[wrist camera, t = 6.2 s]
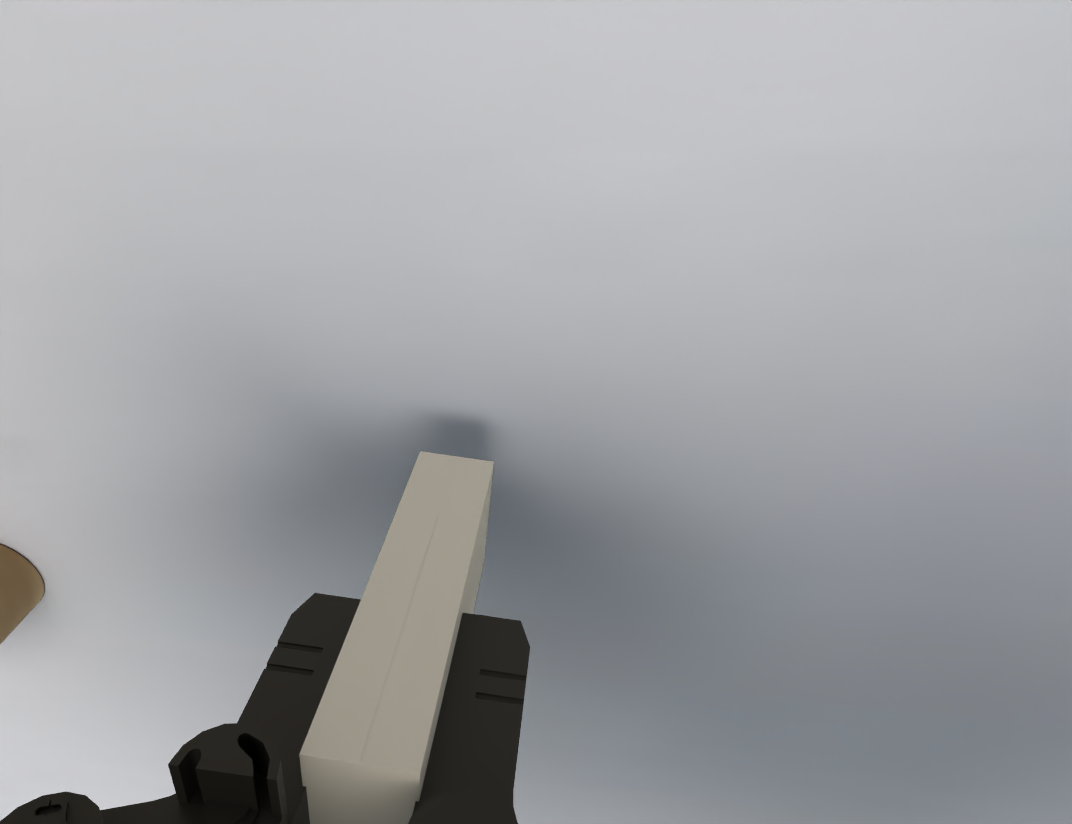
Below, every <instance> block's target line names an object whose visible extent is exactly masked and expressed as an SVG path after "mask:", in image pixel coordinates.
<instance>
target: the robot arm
mask: <svg viewBox="0 0 1072 824" xmlns="http://www.w3.org/2000/svg"><path fill="white" fill-rule="evenodd" d="M493 466H494V462H493V461H486V460H479V459H472V458H465V457H457V456H450V455H443V454H436V453H429V452H422V451H420V453H419V455H418V458H417V460H416V463H415V465H414V468H413V470H412V473H411V475H410V478H409V480H408V483H407V485H406V488H405V490H404V493H403V495H402V498H401V501H400V503H399V506H398V508H397V511H396V513H395V516H394V518H393V521H392V523H391V526H390V528H389V531H388V533H387V536H386V538H385V541H384V543H383V546H382V548H381V551H380V553H379V556H378V558H377V561H376V563H375V566H374V568H373V571H372V573H371V576H370V578H369V581H368V583H367V586H366V588H365V591H364V593H363V596H362V598H361V600H360V599H353V598H346V597H339V596H332V595H325V594H318V593H314V594H313V595H312V596H311V597H310V598H309V599H308V600H307V601H306V602H305V603H303V604H302V605H301V606H300V607H299V608H298V609H297V610H296V611H295V612H294V613H292V614H291V616H290V618H289V620H288V622H287V624H286V626H285V628H284V630H283V632H282V634H281V636H280V638H279V640H278V645H277V647H275V648H274V650H273V652H272V654H271V656H270V658H269V660H268V662H267V667H266V669H264V670H263V672H262V674H261V676H260V678H259V680H258V682H257V684H256V686H255V688H254V690H253V692H252V694H251V696H250V699H249V701H248V703H247V705H246V707H245V709H244V711H243V713H242V715H241V717H240V719H239V721H238V723H234V724H223V725H220V726H217V727H214V728H211V729H209V730H206V731H203V732H201V733H200V734H199V735H197V736H196V737H194V738H193V739H192V740H190V741H189V742H187V743H186V744H184V745H183V746H182V747H181V749H180V750H179V751H178V752H177V754H176V755H175V756H174V758H173V759H172V760H171V761H170V763H169V764H168V766H169V769H170V773H171V776H172V780H173V784H174V787H175V791H176V794H174V795H172V796H169V797H165V798H162V799H158V800H155V801H150V802H145V803H139V804H133V805H128V806H122V807H117V808H111V809H105V810H100V809H99V807H98V806H97V805H96V804H95V803H94V802H93V801H91V800H90V799H89V798H88V797H87V796H85V795H80V794H75V793H70V792H61V793H56V794H50V795H44V796H41V797H39V798H37V799H35V800H32V801H30V802H28V803H26V804H24V805H22V806H20V807H18V808H16V809H15V810H14V811H13V812H11V813H10V814H9V815H8V816H6V817H5V818H4V819H3V820H1V821H0V824H518V823H517V820H516V816H515V812H514V808H513V788H514V779H515V771H516V762H517V754H518V745H519V737H520V728H521V720H522V711H523V702H524V694H525V686H526V677H527V669H528V660H529V652H530V646H529V643H528V640H527V637H526V635H525V632H524V629H523V626H522V623H521V621H517V620H510V619H503V618H496V617H490V616H483V615H476V614H473V612H474V607H475V603H476V598H477V593H478V589H479V584H480V579H481V575H482V570H483V565H484V559H485V549H486V539H487V528H488V518H489V507H490V497H491V487H492V476H493Z"/></svg>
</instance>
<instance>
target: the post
mask: <svg viewBox="0 0 1072 824" xmlns="http://www.w3.org/2000/svg"><path fill="white" fill-rule="evenodd" d="M43 595H44V584H43V581H42V578H41V576H40V575H39V573H38V572H37V570H36V569H35V568H34V567H33V566H32V564H31V563H30V562H28V561H27V560H26V559H25V558H24V557H22V556H21V555H20V554H18V553H16V552H15V551H13V550H11V549H9V548H7V547H5V546H3V545H0V644H1V643H2V642H3V641H4V640H5V638H6V637H7V636H8V635H9V634H10V633H11V632H12V631H13V630H14V629H15V628H16V626H17V625H18V624H19V623H20V622H21V621H22V620H23V619H24V618H25V617H26V615H27V614H28V613H29V612H30V611H31V610H32V609H33V608H34V607H35V606H36V605H37V603H38V602H39V601H40V600H41V599H42V597H43Z"/></svg>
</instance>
